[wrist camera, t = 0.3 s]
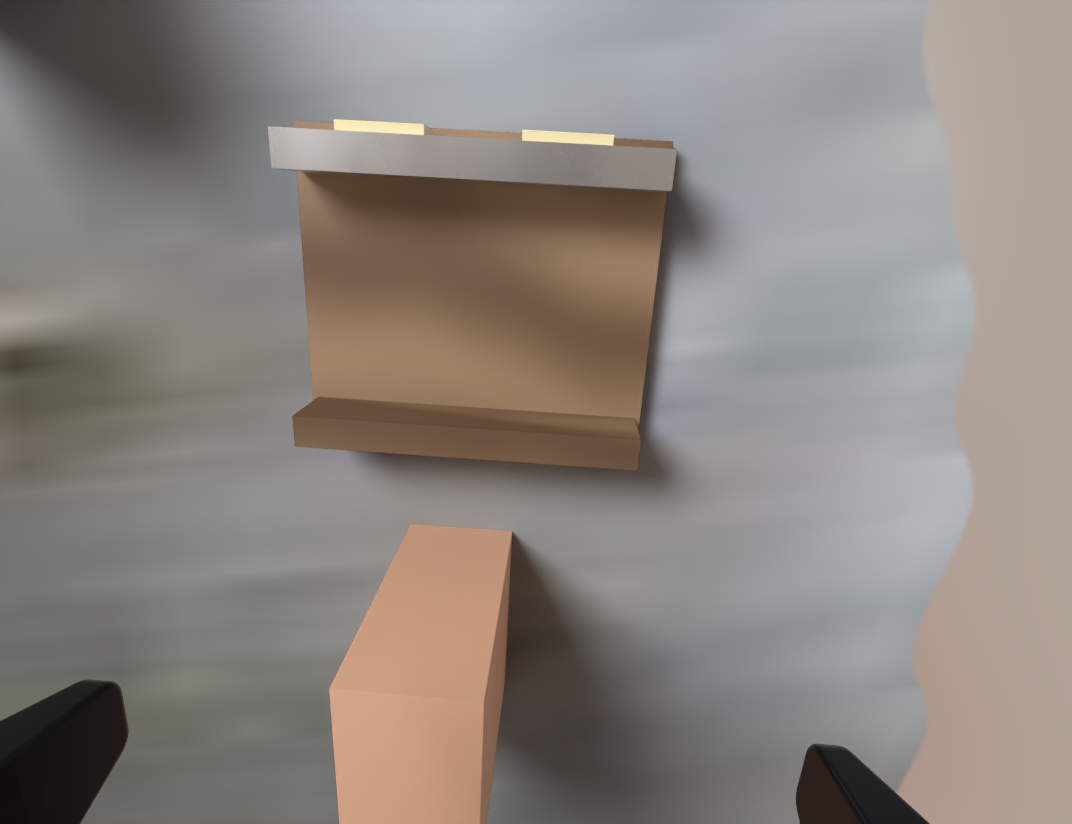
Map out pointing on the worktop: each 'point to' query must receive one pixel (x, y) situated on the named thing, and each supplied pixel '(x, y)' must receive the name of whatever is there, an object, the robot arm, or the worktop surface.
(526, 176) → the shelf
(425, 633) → the box
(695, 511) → the worktop surface
